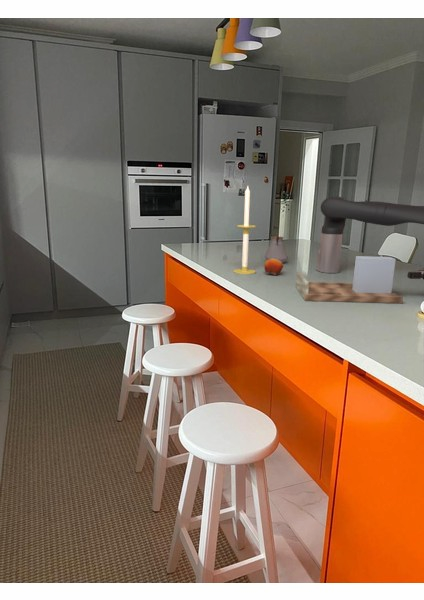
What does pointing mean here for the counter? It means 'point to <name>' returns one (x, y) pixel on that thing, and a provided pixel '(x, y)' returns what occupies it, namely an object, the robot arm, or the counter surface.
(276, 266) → the fruit
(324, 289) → the lane
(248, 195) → the candle
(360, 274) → the block
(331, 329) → the counter surface
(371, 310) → the counter surface
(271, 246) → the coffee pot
